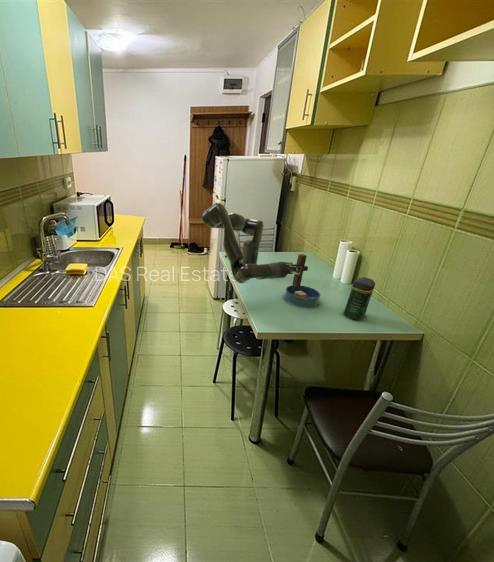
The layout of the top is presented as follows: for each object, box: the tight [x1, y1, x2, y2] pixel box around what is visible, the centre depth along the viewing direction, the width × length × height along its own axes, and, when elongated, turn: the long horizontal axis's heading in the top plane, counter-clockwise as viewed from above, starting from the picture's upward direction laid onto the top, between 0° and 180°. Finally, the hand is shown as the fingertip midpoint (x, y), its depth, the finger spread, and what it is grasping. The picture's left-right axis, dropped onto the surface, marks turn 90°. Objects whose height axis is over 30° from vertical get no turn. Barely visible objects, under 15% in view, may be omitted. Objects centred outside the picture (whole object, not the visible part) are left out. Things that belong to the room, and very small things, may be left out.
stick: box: [291, 253, 308, 287], centre depth 147 cm, size 3×3×16 cm
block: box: [294, 291, 307, 298], centre depth 154 cm, size 4×4×4 cm
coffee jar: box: [343, 276, 376, 321], centre depth 138 cm, size 10×8×19 cm
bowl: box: [283, 284, 321, 308], centre depth 154 cm, size 16×16×5 cm
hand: (304, 267), depth 147 cm, fingers closed on stick, 2 cm apart
